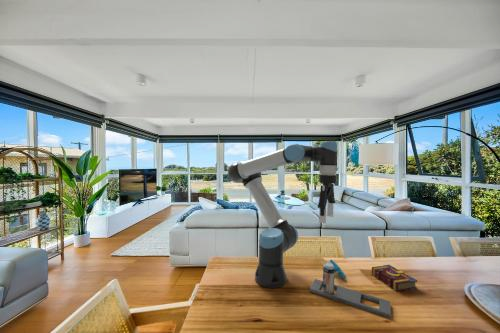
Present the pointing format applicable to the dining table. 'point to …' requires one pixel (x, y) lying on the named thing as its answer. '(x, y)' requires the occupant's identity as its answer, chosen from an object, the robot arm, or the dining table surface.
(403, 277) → the decorative book
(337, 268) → the gear
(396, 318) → the dining table surface
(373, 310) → the rail
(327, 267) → the beer can
